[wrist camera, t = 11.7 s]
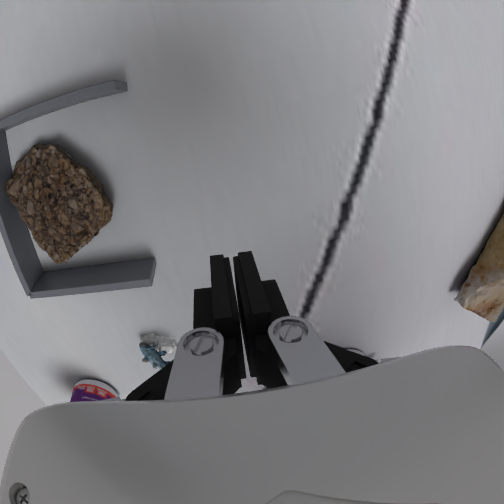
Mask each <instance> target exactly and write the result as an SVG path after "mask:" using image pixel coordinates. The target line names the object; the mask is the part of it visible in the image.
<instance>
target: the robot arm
mask: <svg viewBox="0 0 504 504" xmlns="http://www.w3.org/2000/svg"><path fill="white" fill-rule="evenodd" d="M233 262H234V272H235V282H236V292H237V301H238V306H237V301H236V295H235V289H234V284H233V278H232V272H231V266H230V261H229V257H227V258H224V256H223V255H214V256H210V267H211V285H212V287H211V288H202V289H195V290H194V321H193V330H190V331H188V332H187V333H185V334H184V335H183V336H182V337H181V338H180V340H179V343H178V346H177V350H176V354H175V358H174V360H172V361H171V362H170V363H169V364H167V365H166V366H165V367H163V368H162V369H161V370H160V371H158V372H157V373H156V374H154V375H153V376H152V377H150V378H149V379H148V380H146V381H145V382H144V383H143V384H141V385H140V386H139V387H137V388H136V389H135V390H133V391H132V392H131V393H130V394H129V395H128V396H127V398H126V399H122V400H121V399H120V397H116V398H110V399H105V400H99V401H80V402H67V403H61V404H54V405H51V406H47V407H44V408H41V409H38V410H36V411H34V412H32V413H30V414H29V415H28V416H27V417H25V419H24V420H23V421H22V423H21V424H20V426H19V428H18V430H17V432H16V434H15V436H14V439H13V441H12V444H11V447H10V450H9V453H8V456H7V460H6V464H5V467H4V472H3V476H2V480H1V486H0V504H504V371H503V370H502V368H501V367H500V366H499V365H498V364H497V363H496V362H495V361H494V360H493V359H492V358H490V356H488V355H487V354H486V353H484V352H483V351H481V350H480V349H477V348H475V347H470V346H444V347H437V348H433V349H429V350H424V351H421V352H418V353H414V354H411V355H407V356H404V357H397V358H387V359H381V362H378V363H377V362H376V361H375V360H373V359H371V358H369V357H366V356H365V355H364V354H363V352H361V351H359V350H355V349H344V348H341V347H338V346H336V345H333V344H330V343H328V342H325V341H323V340H322V339H321V337H320V336H319V335H318V333H317V332H316V330H315V329H314V328H313V326H312V325H311V324H310V323H309V322H308V321H307V320H305V319H303V318H300V317H296V316H290V315H289V312H288V310H287V307H286V305H285V302H284V300H283V297H282V295H281V292H280V290H279V288H278V285H277V283H276V281H275V280H267V281H261V279H260V276H259V273H258V270H257V267H256V264H255V261H254V257H253V254H252V252H251V251H248V252H239V253H238V256H235V257H233ZM238 311H239V312H238ZM239 318H240V319H239ZM240 323H241V327H240ZM241 329H242V334H243V339H244V345H245V350H246V355H247V361H248V366H249V371H250V376H251V377H256V378H257V382H258V385H260V384H262V385H264V386H266V387H268V388H270V389H264V390H258V391H251V392H244V393H236V394H234V393H235V392H236V391H237V390H238V389H239V388H240V387H241V386H242V385H241V379H244V378H246V372H245V363H244V354H243V345H242V336H241Z"/></svg>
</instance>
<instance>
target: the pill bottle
mask: <svg viewBox="0 0 504 504" xmlns="http://www.w3.org/2000/svg"><path fill="white" fill-rule="evenodd" d="M116 397H119V396H118V394H117V393H116V392H115V390H114V389H112V388H111V387H110V386H108V385H107V384H105V383H103V382H100V381H96V380H89V379H86V380H81V381H79V382H77V383H76V384H75V386H74V389H73V393H72V397H71V401H70V402H80V401H99V400H105V399H110V398H116Z"/></svg>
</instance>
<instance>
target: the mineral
mask: <svg viewBox="0 0 504 504" xmlns="http://www.w3.org/2000/svg"><path fill="white" fill-rule="evenodd" d="M454 301H457V302H459V303H460V305H461V306H462V307H463V308H465V309H467V310H470V311H472V312H474V313H476V314H478V315H479V316H481V317H483V318H485V319H487V320H488V321H492V322H496V321H497V318H498V316H499V314H500V313H501V311H502V310H503V307H504V213H503V215H502V217H501V218H500V220H499V222H498V223H497V225H496V228H495V230H494V231H493V233H492V234H491V236H490V237H489V239H488V241H487V243H486V246H485V248H484V250H483V253H482V254H481V255H480V256H479V259H478V261H477V263H476V265H475V266H474V265H473V267H472V269H471V270H470V272H469V276H468V278H467V280H466V281H465V283H464V284H463V285H462V287H461V290H460V292H459V293H458V295H457V297H456V298H455V299H454Z"/></svg>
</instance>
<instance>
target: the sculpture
mask: <svg viewBox="0 0 504 504" xmlns="http://www.w3.org/2000/svg"><path fill="white" fill-rule="evenodd" d="M141 341H142V342H141V343H140V344H139V345H140V349H141V352H142V354H143V355H144V356H145V358H143V359H142V361H143V362H150V363H151V364H153V367H154V368H155V369H156V367H158V368H159V369H162V368H163V367H165V366H166V365H167V364H169V363H170V361H168V362H166V361H164V360H163V359H162V358H161V356H162V355H163V356H164V355H165V354H171V353H173V351H174V350H176V349H177V345H176V343H175V339H174V338H173V337H169V336H159V335H155V334H154V333H150V335H142V338H141ZM155 348H156V349H157V350H159V352H158V351H157V350H155Z"/></svg>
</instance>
